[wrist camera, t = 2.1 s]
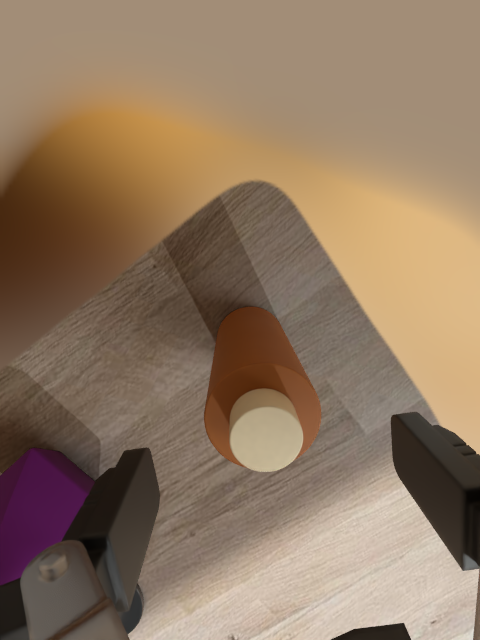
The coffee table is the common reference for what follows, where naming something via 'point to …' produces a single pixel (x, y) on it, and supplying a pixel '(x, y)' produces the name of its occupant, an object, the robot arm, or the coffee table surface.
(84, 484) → the perfume bottle
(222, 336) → the amber bottle
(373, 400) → the coffee table surface
